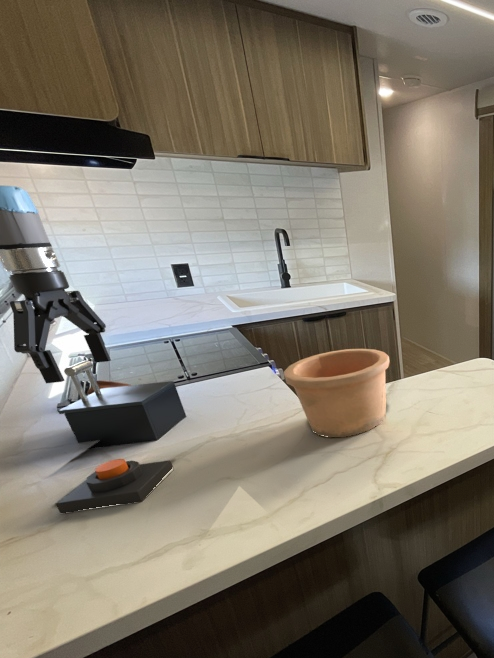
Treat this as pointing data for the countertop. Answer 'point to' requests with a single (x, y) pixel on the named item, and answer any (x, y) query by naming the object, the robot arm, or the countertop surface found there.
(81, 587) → the countertop surface
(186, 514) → the countertop surface
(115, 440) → the dark grey box
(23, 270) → the robot arm
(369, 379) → the pottery
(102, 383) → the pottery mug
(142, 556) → the countertop surface
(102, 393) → the lid
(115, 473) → the button
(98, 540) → the countertop surface
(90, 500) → the panel
